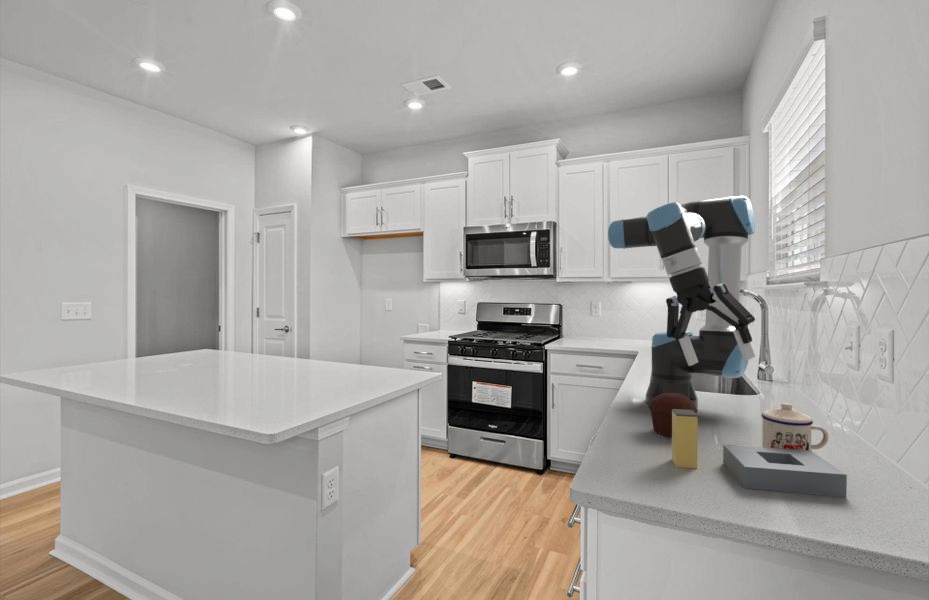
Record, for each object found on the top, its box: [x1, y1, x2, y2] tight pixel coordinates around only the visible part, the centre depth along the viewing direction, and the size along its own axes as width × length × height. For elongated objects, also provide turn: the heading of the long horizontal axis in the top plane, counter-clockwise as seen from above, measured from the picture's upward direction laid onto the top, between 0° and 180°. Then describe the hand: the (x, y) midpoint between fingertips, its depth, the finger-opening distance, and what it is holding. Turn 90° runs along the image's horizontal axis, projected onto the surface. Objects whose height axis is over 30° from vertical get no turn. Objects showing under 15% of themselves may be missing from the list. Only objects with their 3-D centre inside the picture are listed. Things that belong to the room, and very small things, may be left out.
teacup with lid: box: [761, 402, 829, 451], centre depth 97 cm, size 12×9×12 cm
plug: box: [671, 409, 699, 469], centre depth 94 cm, size 4×4×11 cm
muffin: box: [647, 393, 699, 439], centre depth 114 cm, size 12×11×10 cm
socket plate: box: [722, 444, 848, 498], centre depth 86 cm, size 12×16×4 cm
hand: (720, 361), depth 99 cm, fingers open, 13 cm apart
